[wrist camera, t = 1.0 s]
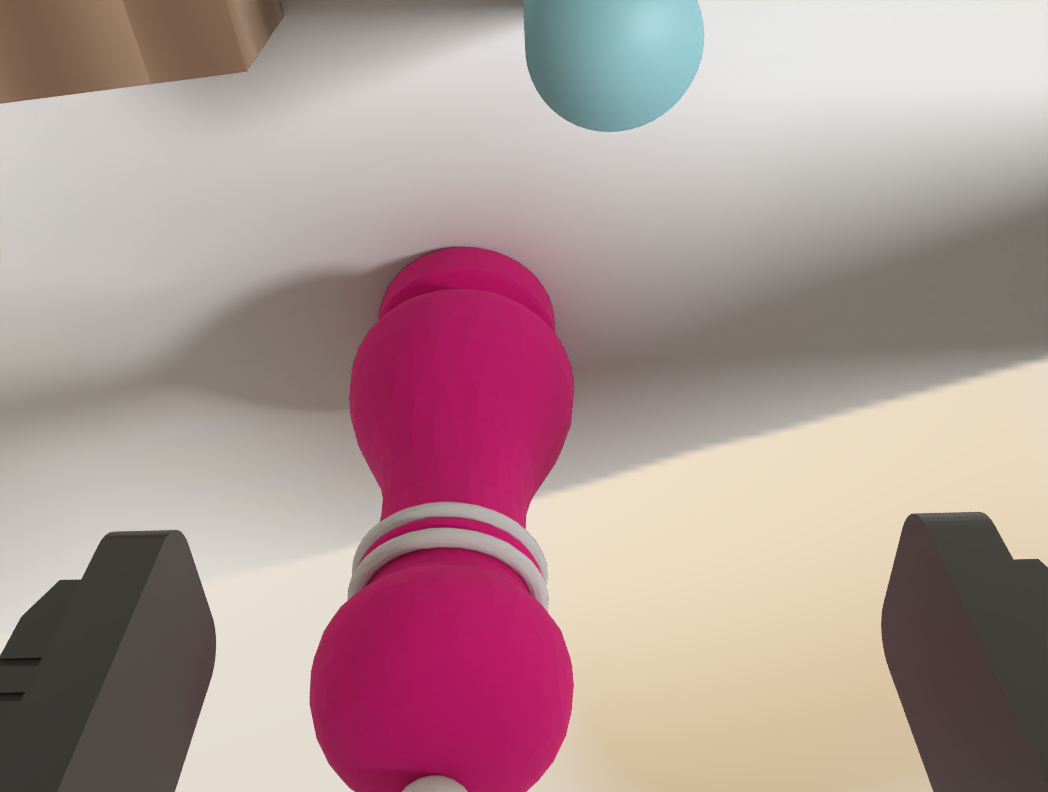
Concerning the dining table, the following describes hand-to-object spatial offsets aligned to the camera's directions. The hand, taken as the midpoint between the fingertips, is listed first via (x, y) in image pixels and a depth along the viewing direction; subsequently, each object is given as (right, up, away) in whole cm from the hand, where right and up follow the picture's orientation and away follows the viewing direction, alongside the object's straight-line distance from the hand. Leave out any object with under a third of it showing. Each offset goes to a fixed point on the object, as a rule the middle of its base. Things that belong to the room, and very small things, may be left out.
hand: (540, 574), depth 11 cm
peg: (+1, +15, +17) cm, 23 cm away
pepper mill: (-2, +5, +24) cm, 25 cm away
